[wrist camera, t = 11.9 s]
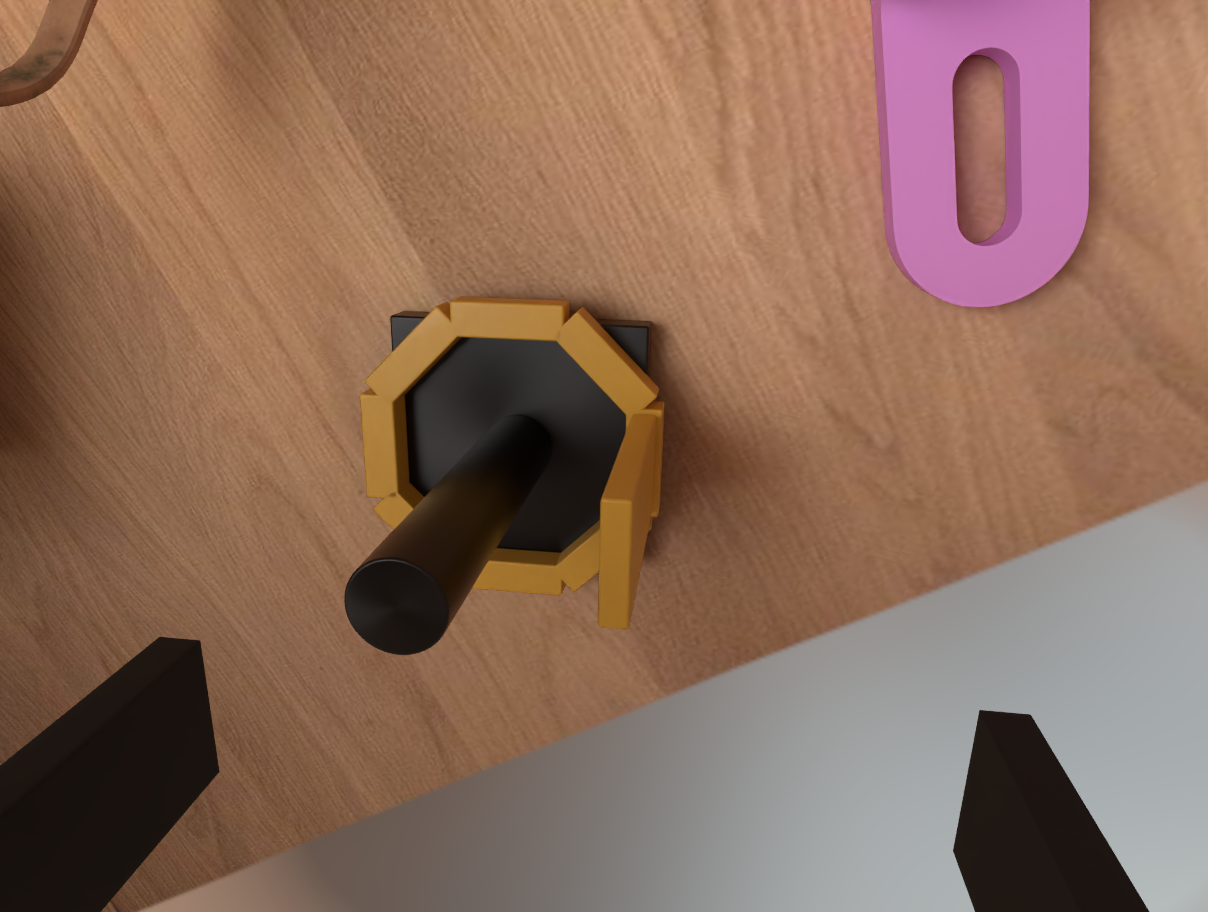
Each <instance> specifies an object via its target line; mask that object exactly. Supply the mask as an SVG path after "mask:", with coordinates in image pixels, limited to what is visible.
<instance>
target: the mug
mask: <svg viewBox="0 0 1208 912" xmlns="http://www.w3.org/2000/svg"><path fill="white" fill-rule="evenodd" d="M97 1H98V0H49V3H48V6H47V9H46V11H45V14H44V17H43V20H42V22H41V25H40V27H39V30H38V32H37V35H36V37H35V39H34V40H33V42H32V44H31V46H30V47H29V49H28V50H27V51H26V53H25V54H24V56H22V57H21V58H20V59H19V60H18V61H17V62H16V63H15V64H14V65H12V66H11V67H9V68H7V69H5V70H3V71H1V72H0V107H3V106H10V105H14V104H18V103H22V102H25V101H28V100H30V99H33V98H35V97H37V96H38V95H40V94H42V93H44V92H45V91H47V90H49V89H50V88H51V87H52V86H54V85H55V84H56V83H57V82H58V81H59V80H60V79H61V78H62V77H63V76H64V74H65V73H66V71H67V70H68V68H69V67H70V66H71V64H72V63H73V61H74V59H75V57H76V55H77V53H78V51H79V48H80V46H81V43H82V41H83V38H84V35H85V33H86V30H87V27H88V24H89V21H90V19H91V16H92V13H93V11H94V8H95V6H96V3H97Z"/></svg>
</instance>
